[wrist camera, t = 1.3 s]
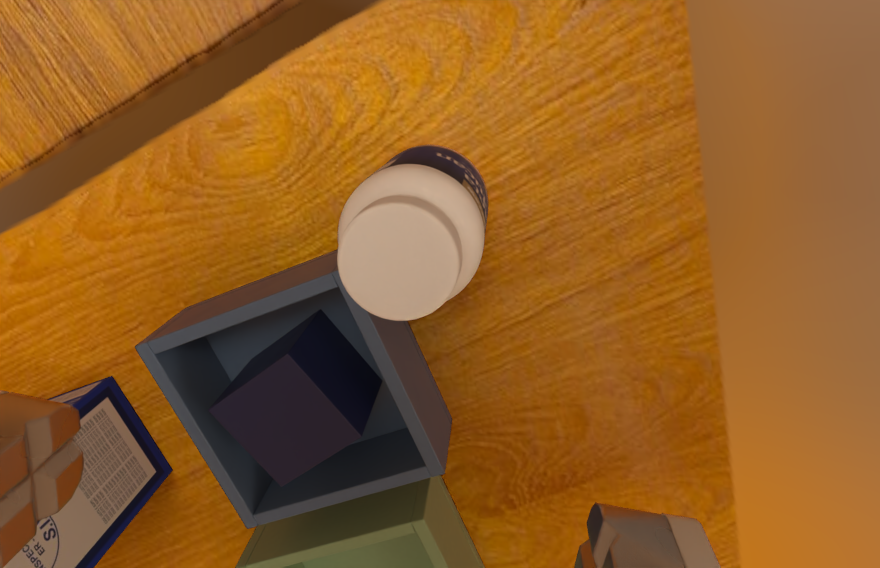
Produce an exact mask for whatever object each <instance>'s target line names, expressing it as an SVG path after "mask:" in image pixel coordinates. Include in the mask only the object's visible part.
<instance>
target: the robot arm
mask: <svg viewBox="0 0 880 568" xmlns="http://www.w3.org/2000/svg"><path fill="white" fill-rule="evenodd" d="M80 429H81V424H80V417H79V410H77V409H76V408H75V407H73V406H72V405H70V404H65V403H61V402H56V401H51V400H46V399H41V398H37V397H32V396H27V395H22V394H18V393H13V392H12V393H9V392H6V391H1V390H0V568H3V567H4V566H5V565H6V564H7V563H8V562H9V561H10V560H11V559H12V558H13V557H14V556H15V555H16V554H17V553H18V552H19V551H20V550H21V549H22V548H23V547H24V546H25V545H26V544H27V543H28V542H29V541H30V540H31V539H32V538H33V537H34V536H35V535H36V533H37V521H40V520H42V519H44V518H47V517H49V516H51V515H54V514H56V513H58V512H59V511H60V510H61V509H62V508H63V507H64V506H65V505H66V504H67V503H68V502H69V501H70V500H71V498H72V496H73V495H74V493H75V491H76V489H77V487H78V485H79V483H80V481H81V478H82V473H83V468H84V458H83V451H82V450H81V449H80V447H79V446H78V445H77V443H76V442H75V441H74V439H73V437H74V436H75V435H76V434H77V433H78V432H79V430H80ZM587 528H588V534H589V540H587V541H586V542H584V543H583V544H582V545H580V547H579V550H578V554H577V558H576V562H575V568H721V567H720V565H719V563H718V560H717V558H716V556H715V554H714V552H713V549H712V547H711V545H710V543H709V540H708V538H707V536H706V534H705V532H704V529H703V527H702V525H701V523H700V522H698V521H697V520H696V519H694V518H688V517H682V516H675V515H669V514H663V513H662V514H657V513H651V512H646V511H640V510H635V509H629V508H623V507H618V506H612V505H607V504H601V503H596V502H595V504H594V505H593V507H592V509H591V511H590V514H589V517H588V520H587Z"/></svg>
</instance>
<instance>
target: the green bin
mask: <svg viewBox="0 0 880 568" xmlns="http://www.w3.org/2000/svg"><path fill="white" fill-rule="evenodd" d="M235 568H485V567H484V565H483V563H482V561H481V558H480V556H479V554H478V552H477V550H476V548H475V546H474V544H473V542H472V540H471V538H470V536H469V534H468V531H467V529H466V527H465V525H464V523H463V521H462V519H461V517H460V515H459V513H458V511H457V509H456V507H455V504H454V502H453V500H452V498H451V496H450V494H449V492H448V490H447V488H446V486H445V484H444V482H443V480H442V477H441V475H439V476H435V477H430V478H427V479H423V480H420V481H416V482H413V483H409V484H406V485H402V486H398V487H395V488H391V489H388V490H384V491H381V492H377V493H373V494H370V495H366V496H363V497H359V498H355V499H352V500H348V501H345V502H341V503H338V504H334V505H330V506H327V507H323V508H320V509H316V510H313V511H309V512H305V513H302V514H298V515H295V516H291V517H287V518H284V519H280V520H277V521H273V522H270V523H266V524H262V525H258V526H257V527H256V529H255V531H254V533H253V535H252V537H251V539H250V540H249V542H248V544H247V546H246V548H245V550H244V552H243V554H242V556H241V557H240V559H239V561H238V563H237V565H236V567H235Z"/></svg>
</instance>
